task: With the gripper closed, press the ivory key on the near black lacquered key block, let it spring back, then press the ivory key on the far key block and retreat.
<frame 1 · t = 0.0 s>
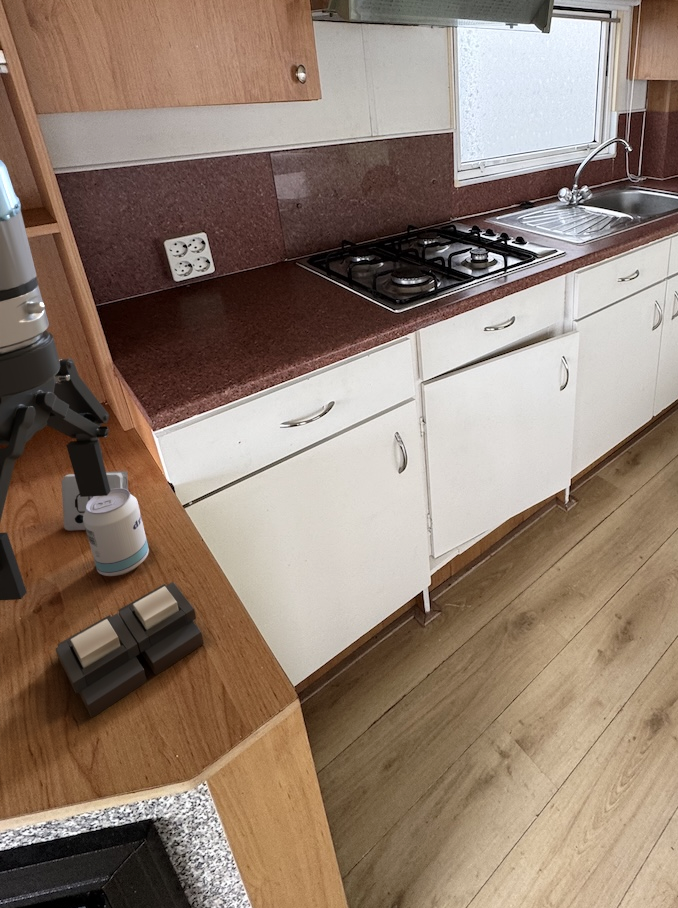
hand: (56, 539, 56), 28 cm above the counter, tool pointing down, fingers open, 13 cm apart
near key block: (103, 668, 74), on the counter
far key block: (161, 632, 79), on the counter
e key: (156, 607, 77), point 4 cm above the counter, slide at 0.1 cm
electrical switch: (101, 520, 99), on the counter
c key: (95, 643, 72), point 4 cm above the counter, slide at 0.1 cm
beverage can: (124, 564, 90), on the counter
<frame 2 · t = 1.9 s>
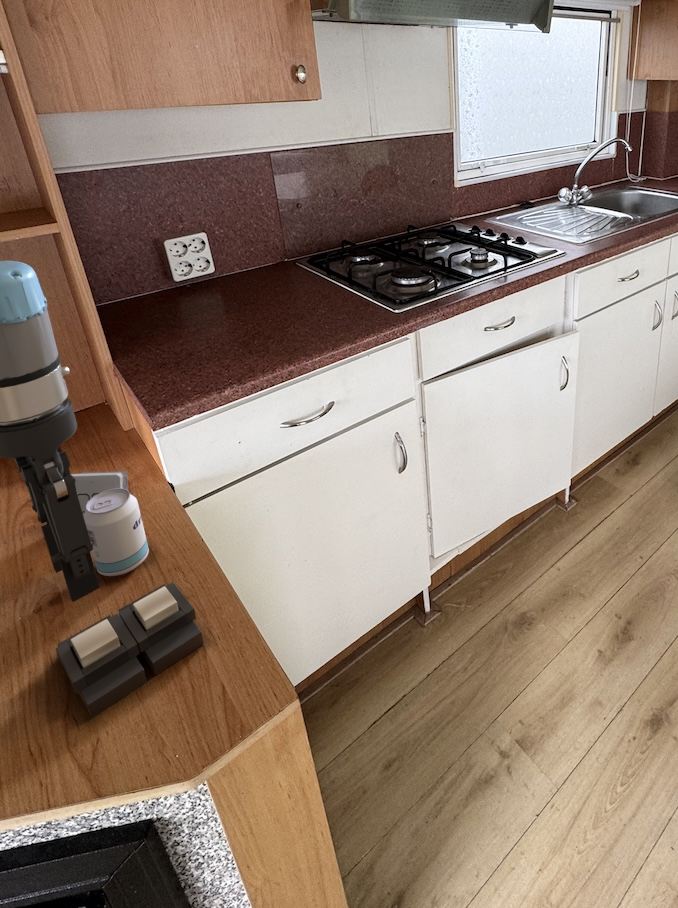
hand: (76, 578, 69), 15 cm above the counter, tool pointing down, fingers open, 6 cm apart
nothing on the counter moved.
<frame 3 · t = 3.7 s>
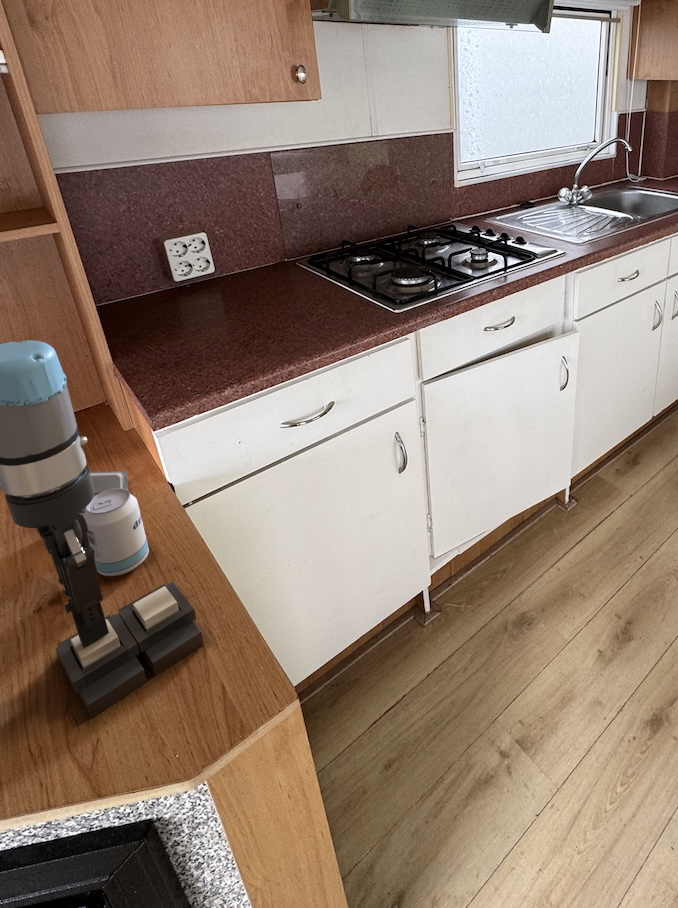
hand: (94, 636, 72), 6 cm above the counter, tool pointing down, fingers closed
c key: (95, 643, 72), point 4 cm above the counter, slide at 0.1 cm, touching gripper
everything else where it was.
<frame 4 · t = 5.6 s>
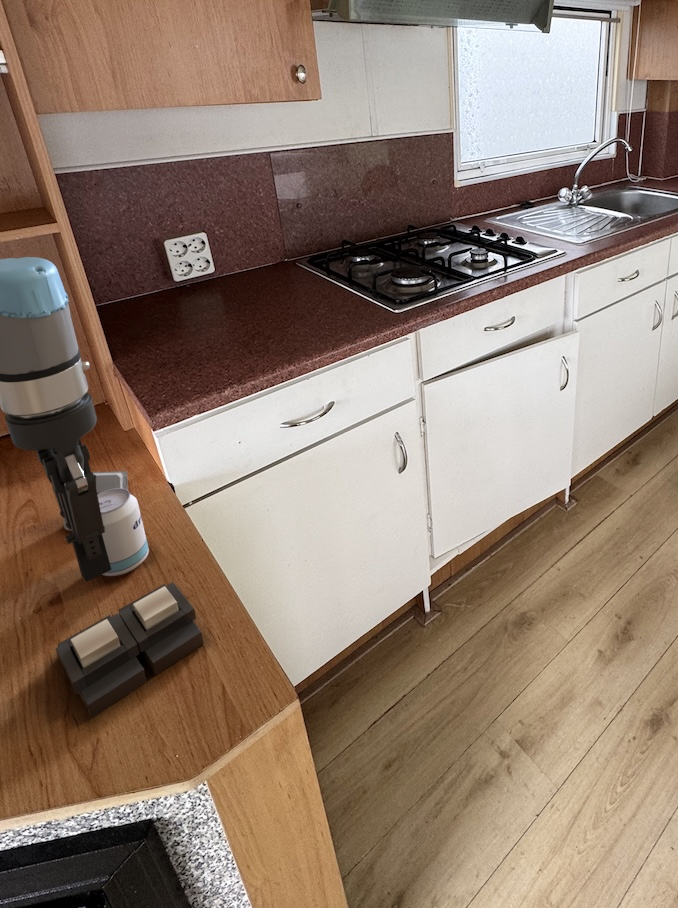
hand: (96, 572, 70), 14 cm above the counter, tool pointing down, fingers closed
c key: (95, 643, 72), point 4 cm above the counter, slide at 0.1 cm
everything else where it was.
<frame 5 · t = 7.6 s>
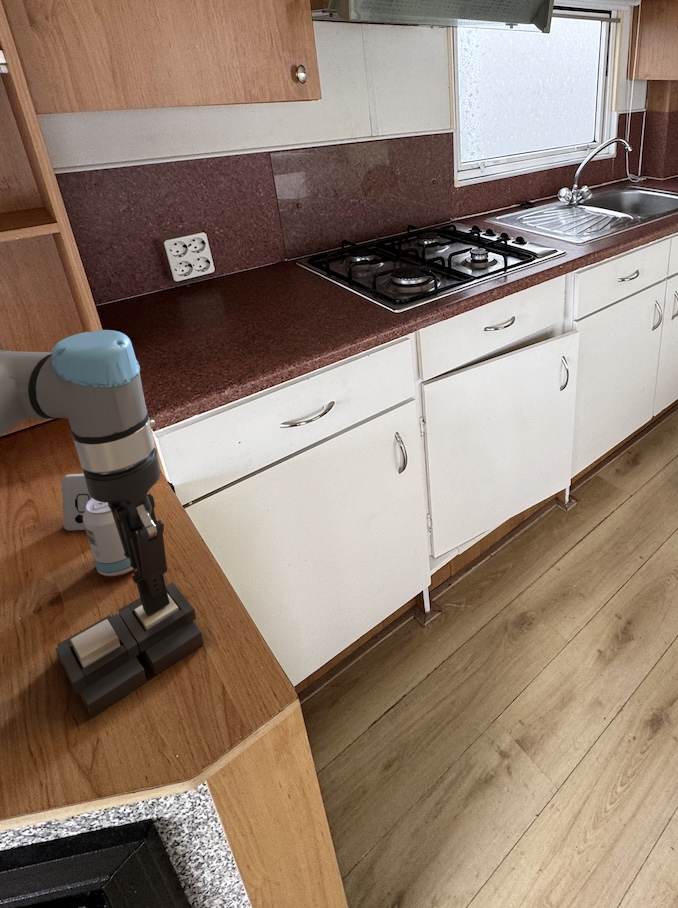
hand: (156, 606, 77), 5 cm above the counter, tool pointing down, fingers closed
e key: (157, 613, 78), point 4 cm above the counter, slide at -0.9 cm, touching gripper
everything else where it was.
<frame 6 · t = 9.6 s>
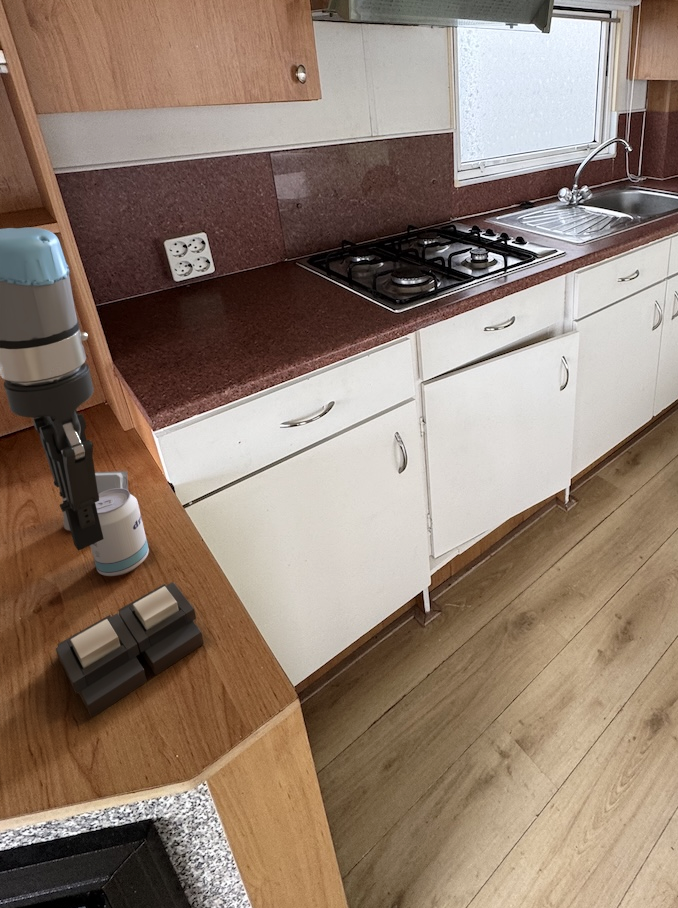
hand: (89, 541, 71), 17 cm above the counter, tool pointing down, fingers closed
e key: (156, 607, 77), point 4 cm above the counter, slide at 0.1 cm
everything else where it was.
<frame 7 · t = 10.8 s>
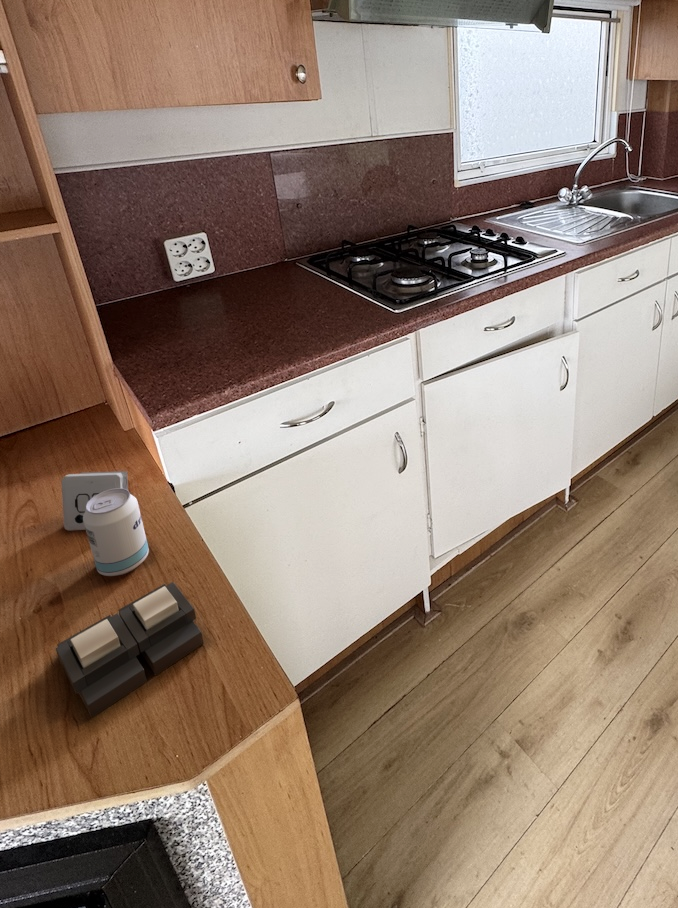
nothing on the counter moved.
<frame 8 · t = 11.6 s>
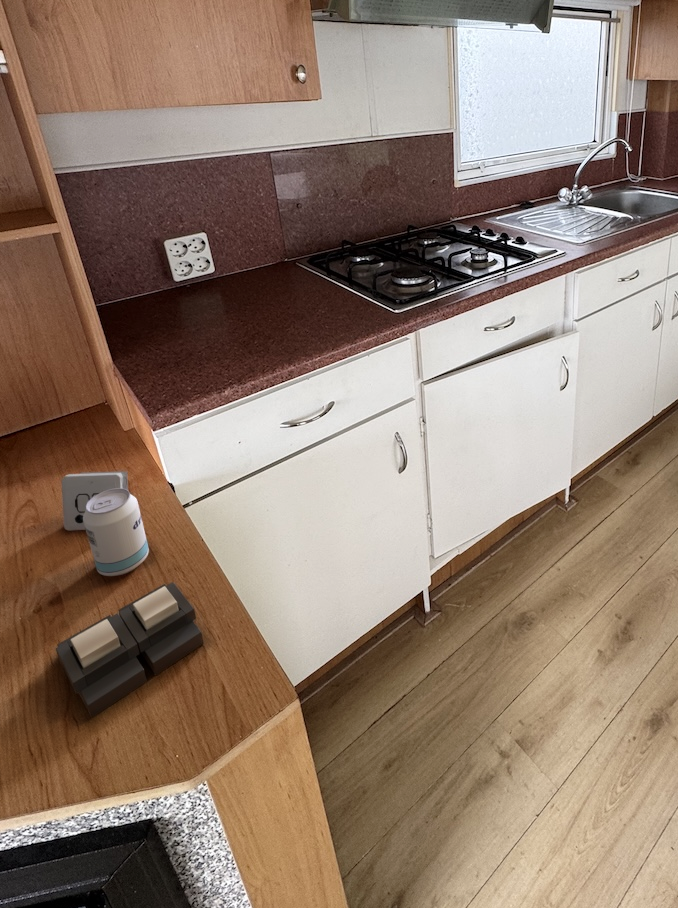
nothing on the counter moved.
at the end: c key pushed in 1.0 cm at the most during the clip, back to where it started at the end; e key pushed in 1.0 cm at the most during the clip, back to where it started at the end; e key slide at 0.1 cm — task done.
